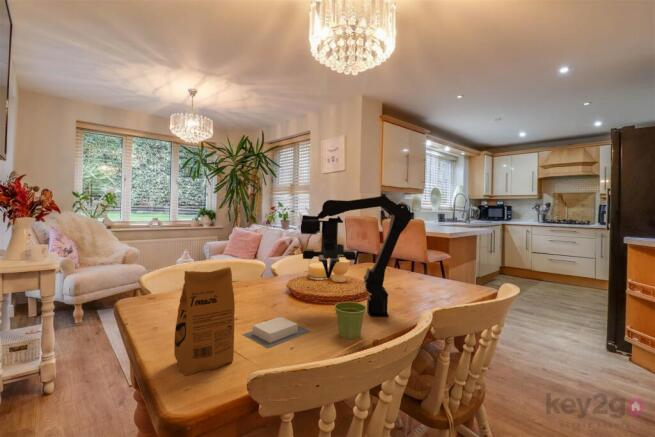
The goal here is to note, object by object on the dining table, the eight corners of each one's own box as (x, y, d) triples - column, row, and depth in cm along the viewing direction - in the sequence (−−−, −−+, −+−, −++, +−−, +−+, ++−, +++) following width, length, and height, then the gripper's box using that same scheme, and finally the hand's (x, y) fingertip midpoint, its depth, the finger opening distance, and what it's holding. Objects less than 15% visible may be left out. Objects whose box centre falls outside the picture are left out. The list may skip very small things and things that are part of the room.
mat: (285, 321, 98) (285, 320, 98) (311, 332, 90) (311, 331, 90) (242, 335, 86) (242, 334, 86) (267, 349, 78) (267, 348, 78)
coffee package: (171, 360, 71) (173, 267, 70) (225, 347, 78) (226, 263, 78) (178, 380, 63) (180, 276, 62) (237, 364, 70) (239, 270, 69)
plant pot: (356, 346, 82) (357, 314, 81) (327, 337, 87) (328, 307, 86) (370, 334, 89) (371, 305, 89) (343, 327, 94) (344, 299, 94)
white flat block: (280, 316, 93) (252, 325, 86) (297, 323, 88) (270, 333, 81) (280, 325, 93) (252, 334, 86) (297, 332, 88) (269, 343, 81)
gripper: (303, 236, 99) (301, 283, 99) (359, 237, 100) (357, 284, 101) (303, 233, 110) (302, 276, 111) (354, 235, 111) (352, 276, 112)
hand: (328, 278), depth 108 cm, fingers closed
